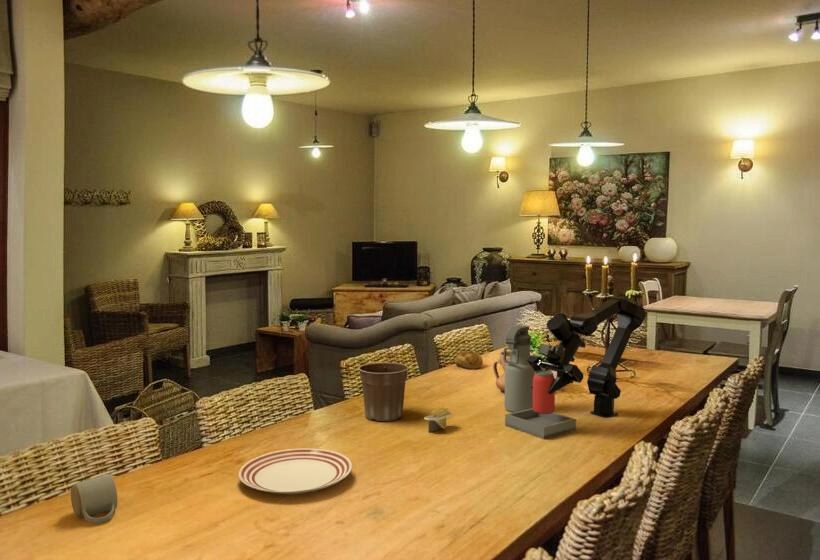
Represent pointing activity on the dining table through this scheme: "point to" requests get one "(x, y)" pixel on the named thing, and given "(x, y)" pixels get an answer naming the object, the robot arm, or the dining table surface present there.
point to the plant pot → (383, 390)
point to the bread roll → (469, 360)
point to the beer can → (543, 392)
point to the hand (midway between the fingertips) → (540, 390)
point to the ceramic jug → (501, 380)
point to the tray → (540, 423)
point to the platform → (437, 419)
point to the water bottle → (518, 370)
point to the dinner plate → (295, 470)
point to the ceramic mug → (94, 498)
